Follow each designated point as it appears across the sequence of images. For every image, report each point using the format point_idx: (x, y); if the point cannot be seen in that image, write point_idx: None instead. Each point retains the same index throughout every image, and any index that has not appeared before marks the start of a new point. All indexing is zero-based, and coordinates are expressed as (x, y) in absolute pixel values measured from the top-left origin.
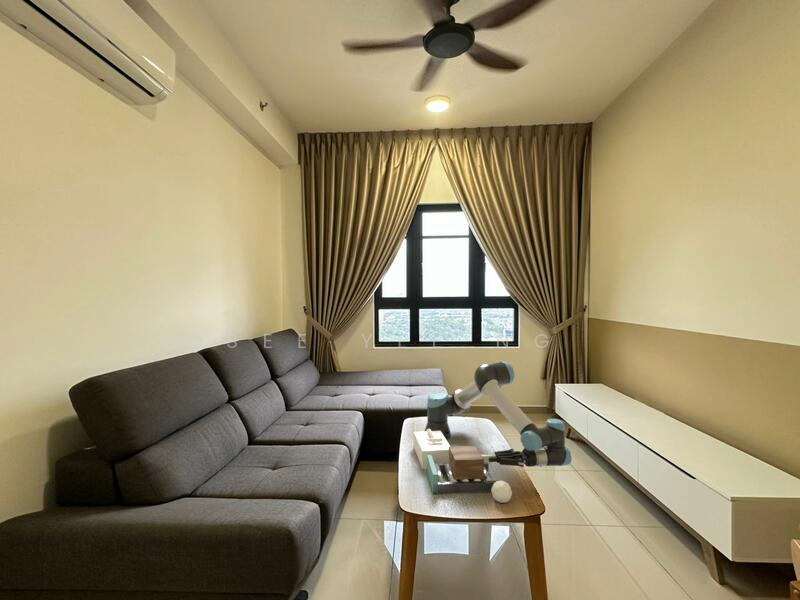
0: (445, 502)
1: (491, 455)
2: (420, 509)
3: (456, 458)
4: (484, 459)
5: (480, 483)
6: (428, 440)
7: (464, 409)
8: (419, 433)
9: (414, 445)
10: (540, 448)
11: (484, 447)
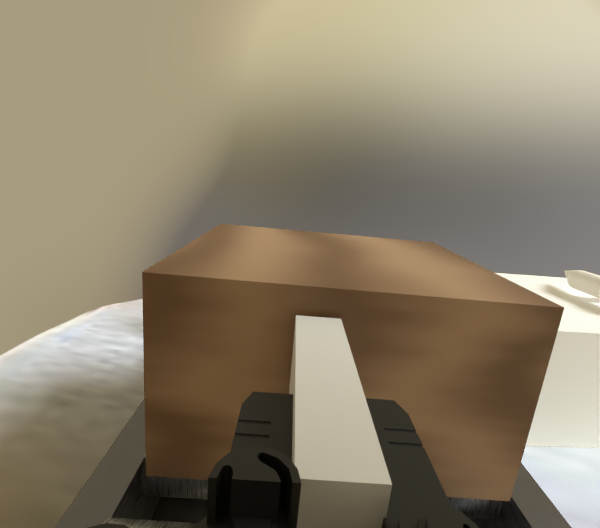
0: (133, 349)
1: (315, 403)
2: (137, 304)
3: (241, 227)
4: (291, 378)
5: (113, 448)
6: (566, 275)
7: None
8: None
9: None
10: None
11: None
